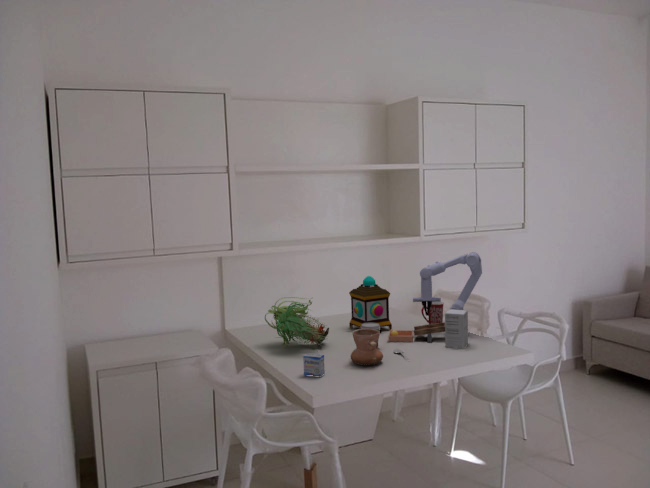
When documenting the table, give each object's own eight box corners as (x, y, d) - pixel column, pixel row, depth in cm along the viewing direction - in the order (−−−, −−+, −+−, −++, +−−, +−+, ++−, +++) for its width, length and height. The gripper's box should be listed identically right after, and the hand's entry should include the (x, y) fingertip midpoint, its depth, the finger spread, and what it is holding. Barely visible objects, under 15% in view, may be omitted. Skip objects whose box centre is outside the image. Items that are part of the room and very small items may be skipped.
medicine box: (303, 376, 235) (302, 356, 234) (307, 373, 239) (306, 353, 238) (321, 377, 232) (320, 357, 231) (325, 374, 236) (324, 354, 235)
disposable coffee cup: (367, 345, 279) (367, 321, 278) (384, 347, 273) (383, 323, 272) (357, 350, 271) (356, 325, 270) (374, 352, 265) (373, 327, 264)
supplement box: (449, 342, 279) (449, 308, 277) (468, 343, 275) (468, 310, 273) (445, 347, 270) (444, 312, 269) (464, 349, 266) (463, 314, 265)
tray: (413, 336, 293) (413, 330, 293) (412, 342, 281) (412, 336, 281) (390, 335, 295) (389, 330, 295) (388, 342, 283) (388, 336, 283)
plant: (326, 344, 257) (258, 310, 261) (311, 378, 278) (249, 346, 283) (349, 300, 279) (287, 269, 283) (334, 334, 300) (276, 305, 304)
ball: (395, 338, 291) (400, 332, 290) (395, 340, 287) (399, 334, 286) (389, 334, 291) (393, 327, 290) (388, 336, 287) (393, 329, 286)
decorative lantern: (346, 328, 315) (344, 275, 313) (376, 323, 324) (374, 272, 322) (364, 335, 298) (362, 279, 295) (395, 330, 306) (394, 276, 304)
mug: (440, 324, 317) (440, 300, 316) (446, 327, 308) (446, 303, 307) (419, 325, 315) (418, 302, 314) (424, 329, 306) (423, 305, 305)
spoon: (399, 351, 268) (399, 347, 268) (416, 363, 248) (416, 359, 248) (391, 352, 267) (391, 348, 267) (407, 364, 247) (407, 360, 247)
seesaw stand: (431, 336, 292) (431, 327, 291) (431, 342, 279) (431, 333, 279) (427, 336, 292) (427, 327, 292) (427, 342, 280) (427, 333, 279)
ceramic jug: (390, 366, 244) (389, 333, 243) (359, 370, 240) (358, 337, 238) (373, 355, 261) (372, 325, 260) (344, 359, 256) (343, 328, 255)
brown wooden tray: (445, 325, 294) (444, 319, 294) (446, 332, 279) (445, 326, 279) (415, 329, 297) (414, 323, 297) (414, 337, 282) (413, 331, 282)
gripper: (440, 288, 300) (440, 313, 301) (412, 288, 303) (413, 313, 304) (440, 290, 293) (441, 316, 294) (412, 291, 296) (413, 316, 297)
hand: (427, 315), depth 299 cm, fingers closed
